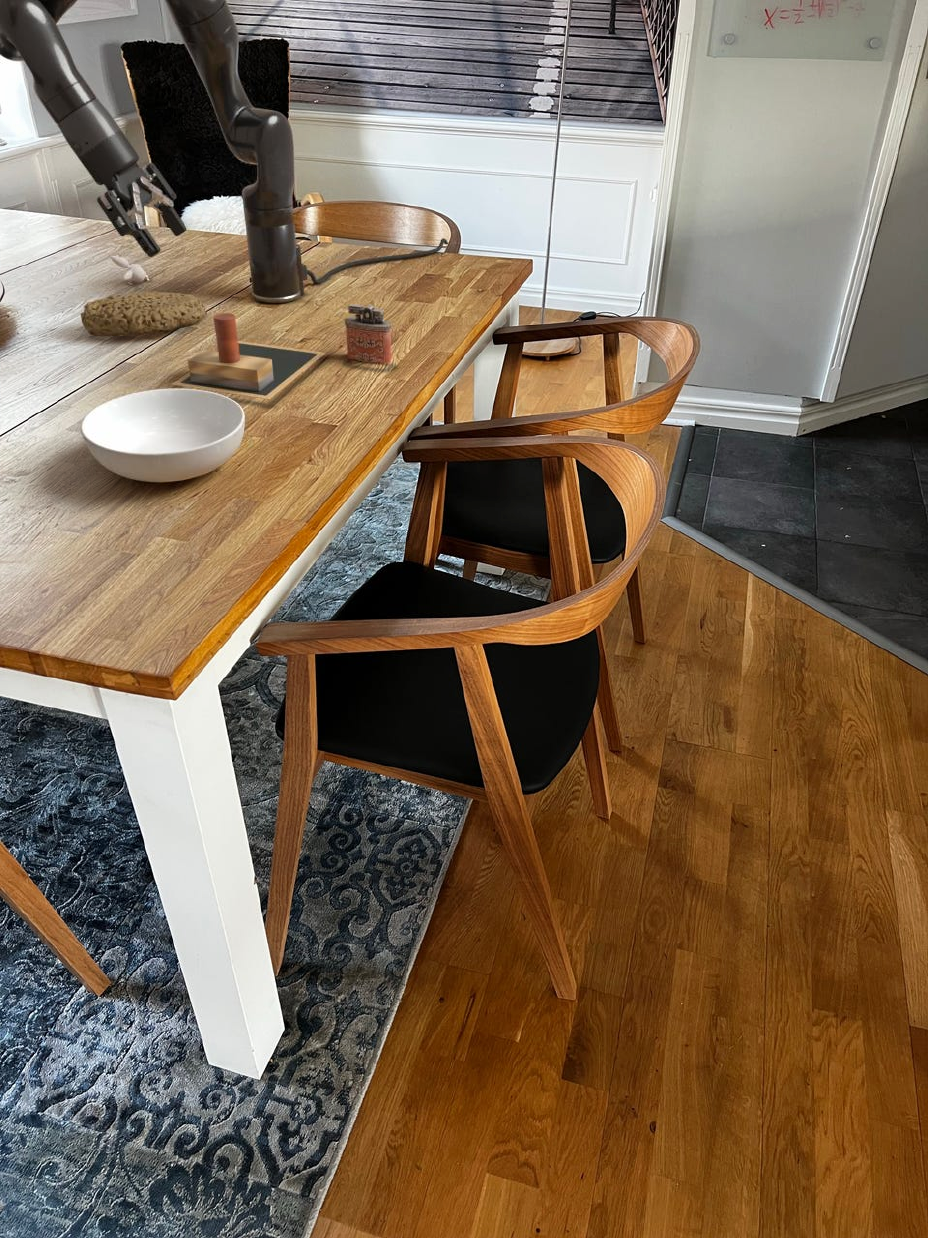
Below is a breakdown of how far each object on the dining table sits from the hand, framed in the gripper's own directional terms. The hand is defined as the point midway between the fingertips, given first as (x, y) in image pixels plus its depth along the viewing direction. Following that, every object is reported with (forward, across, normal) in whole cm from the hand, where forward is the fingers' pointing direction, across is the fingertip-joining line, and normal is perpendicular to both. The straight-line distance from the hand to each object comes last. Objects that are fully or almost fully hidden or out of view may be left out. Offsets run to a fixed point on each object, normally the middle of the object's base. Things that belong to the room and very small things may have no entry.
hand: (169, 243), depth 147 cm
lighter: (+32, +7, -15) cm, 36 cm away
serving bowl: (+21, -35, -6) cm, 41 cm away
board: (+23, -3, -1) cm, 23 cm away
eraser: (+21, -9, -1) cm, 23 cm away
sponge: (+12, +11, +23) cm, 28 cm away
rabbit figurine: (+6, +35, +40) cm, 53 cm away
